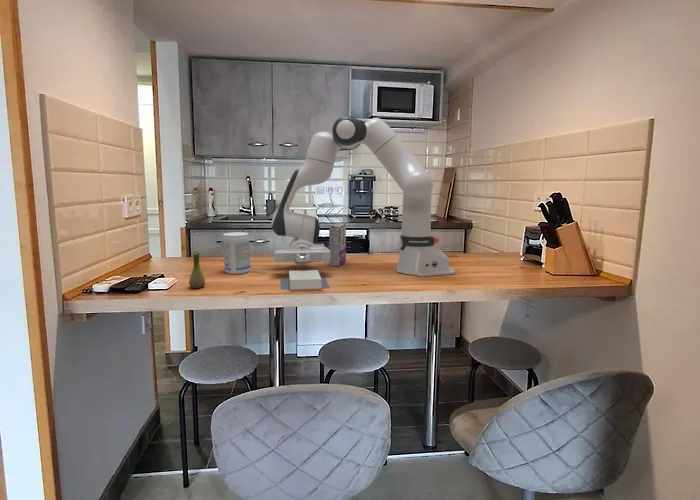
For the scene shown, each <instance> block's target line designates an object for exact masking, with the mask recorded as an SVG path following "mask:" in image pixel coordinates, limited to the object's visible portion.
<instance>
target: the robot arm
mask: <svg viewBox="0 0 700 500" xmlns="http://www.w3.org/2000/svg"><path fill="white" fill-rule="evenodd" d="M360 145H365V146H366V147H368V149H369V150H370V151H371V153H373V155H374V156H375V157H376V158H377V160H378V161H379V162H380V164H381V165H383V167H384V169H386V171H387V173H388V174H389V175H390V176H391V178H393V180H394V181H395V183H396V184H397V185H398V186H399V188H400V190H402V209H401V211H402V212H401V234H400V236H399V237H400V238H399V249H400V251H399V252H400V253H399V257H398V258H399V259H398V263H397V267H396V269H395V271H396V272H398V273H400V274H405V275H412V276H416V277H431V276H445V275H454V274H455V273H456V270H455V269H454V268H453V267H452V266H451V267H450V262H449V258H448V255H447V254H446V253H444V252H443V251H442V250H441V249H439V248H438V247H437V246H436V245H435V244H439V243H440V239H439V238H438V237H434V236H432V235H431V231H432V230H431V225H432V191H433V188H434V182H433V179H432V177H431V175H430V173H428V171H427V170H426V169H425V167H423V166H422V164H421V163H420V161H418V159H417V158H416V157H415V156H414V154H413V153H412V152H411V151H410V149H409V148H408V147H407V146H406V145H405V143H404V142H403V141H402V140H401V138H400V137H399V136H398V135H397V133H396V132H395V131H394V130H393V129H392V128H391V127H390V125H389V124H387V123H386V122H385V121H384V120H383V119H381V118H379V117H373V118H370V119H368V120H367V121H365V122H364V121H363V120H360V119H359V118H356V117H353V116H350V115H344V116H340V117H339V118H337V119H336V120H335V122H334V123H333V125H332V128H331V131H330V132H328V131H319V132H315V134H313V136H312V137H311V141H310V143H309V146H308V148H307V153H306V155H305V158H304V159H305V160H304V162H303V164H302V166H301V167H300V168H299V169H296V170H294V171H293V173H292V174H291V177H290V179H289V182H288V184H287V185H286V188H285V191H284V193H283V196H282V199H281V200H280V203H279V206H278V208H277V210H276V211H275V213H274V214H273V217H272V220H271V226H270V227H271V230H272V231H273V232H274V234H275V235H277V236H281V237H290V238H293V239H291V241H290V243H289V246H288V248H280V249H279V248H277V249H276V250H274V252H273V259H274V260H273V261H274V262H276V263H288V262H289V263H291V262H293V263H295V264H296V265H300V266H302V265H306V264H311V263H317V262H318V263H319V262H329V261H330V259H331V252H330V250H329V248H328V247H327V246H325V244H324V243H317V242H318V240H319V237H320V232H321V231H320V229H321V225H320V222H319V220H318V218H317V217H316V216H314V215H313V216H312V215H308V214H303V213H299V212H293V211H291V209H290V208H291V205H292V203H293V201H294V198H295V195H296V193H297V192H298V190H300V189H301V188H304V187H307V186H308V187H309V186H316V185H320V184H321V185H322V184H324V183H325V182H327V181H328V180H329V179H330V178H331V176H332V172H333V170H334V165H335V161H336V157H337V154H338V152H340V151H341V152H342V151H352V150H355V149H357V148H358V147H359V146H360Z"/></svg>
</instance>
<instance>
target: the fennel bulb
mask: <svg viewBox="0 0 700 500" xmlns="http://www.w3.org/2000/svg"><path fill="white" fill-rule="evenodd" d="M192 255H193V269H192V272H191V274H190V275H189V278H188V283H189V284H188V285H189V286H190V287H191V289H192V288H193V289H201V288H203V287H205V286H206V278H205V275H204V273H203V271H202V268H201V266H200V252H199V251H196V250H195V251H193V254H192Z"/></svg>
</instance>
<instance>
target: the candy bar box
mask: <svg viewBox="0 0 700 500" xmlns="http://www.w3.org/2000/svg"><path fill="white" fill-rule="evenodd" d="M328 230H329V232H328V235H329V236H328V241H329V244H328V245H329V246H328V247H329V248H328V249H329V250H330V252H331V259H330V261H328V263H329V267H341V266H342V265H343V264H345V263H346V261H347V248H346V247H347V243H346V241H347V235H346V234H347V224H346V223H334V224H332V225H330V226H329V227H328Z"/></svg>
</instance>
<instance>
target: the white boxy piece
mask: <svg viewBox="0 0 700 500" xmlns="http://www.w3.org/2000/svg"><path fill="white" fill-rule="evenodd" d="M288 278H289V284H290V290H289V291H290V292H297V291H298V292H301V291H303V292H304V291H322V290H323V289H322V279H321V275H320V271H319V270H318V269H312V270H311V269H307V270H306V269H305V270H301V269H300V270H298V269H297V270H289V271H288Z"/></svg>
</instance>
